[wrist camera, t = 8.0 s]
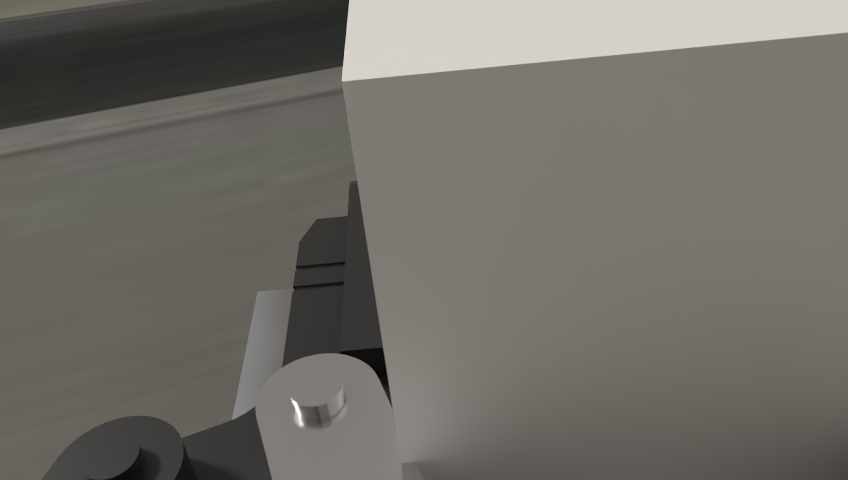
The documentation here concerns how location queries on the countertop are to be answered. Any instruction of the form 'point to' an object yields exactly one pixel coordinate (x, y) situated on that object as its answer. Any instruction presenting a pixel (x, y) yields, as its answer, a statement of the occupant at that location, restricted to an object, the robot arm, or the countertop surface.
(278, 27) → the countertop surface
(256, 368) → the board
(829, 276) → the white block
